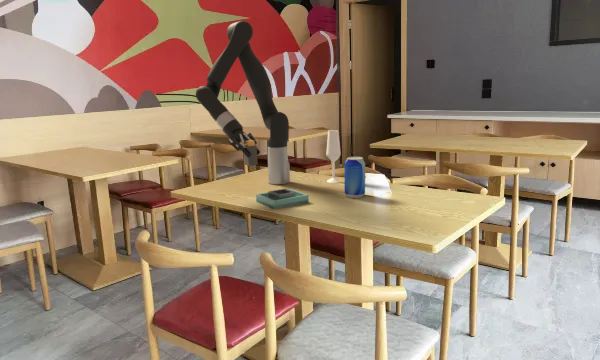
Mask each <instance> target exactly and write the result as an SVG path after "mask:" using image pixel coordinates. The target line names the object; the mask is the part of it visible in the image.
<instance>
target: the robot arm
mask: <svg viewBox="0 0 600 360" xmlns="http://www.w3.org/2000/svg"><path fill="white" fill-rule="evenodd" d="M226 34H227V38H228V44H227V46H226V47H225V48H224V50H223V51H222V53H221V54H220V55H219V56H218V58H217V59H216V60H215V62H214V63H213V65H212V67H211V69H210V71H209V72H208V75H207V77H206V81H207V82H206V83H207V84H206V85H201V86H198V87H197V89H196V91H195V97H196V100H197V101H198V102H199V103H200V104H201V105H202V107H203V108H204V109H205V110H206V111H207V112H208V113H209V116H210V117H212V119H213V120H214V121H215V123H216V124H217V125H218V127H219V128H220V130H221V131H222V132H223V133H224V134H225V136H226V137H227V138H228V140H227V142H228V143H229V145H231V146H232V147H233V148H234V149H235V150H236V151H237V152H239V151H240V152H242V153H243V155H244V154H245V155H246V156H247V157H248V158H249V157H250V156H251V155H252V154H251V152H250V151H249V150H248V149H247V148H245V141H247V140H253V141H254V142H255V145H256V146H257V144H258V142H257V140H256V139H255V137H254V135H252V134H253V133H251V132H249V133H246V132H245V131H244V127H243V125H242V124H241V123H240V121H239V120H238V119H237V118H236V117H235V116H234V115H233V114H232V112H230V111H229V109H228V108H227V107H226V106H225V104H223V103H222V102H221V101H220V100H219V98H218V97H219V95H220V92H221V88H222V85H223V84H224V82H225V80H226V78H227V75H228V74H229V73H230V71H231V69H232V67H233V65H234V64H235V61H236V60H237V59H238V60H239V62H240V65H241V69H242V70H243V72H244V75H245V78H246V81H247V82H248V85H249V87H250V89H251V92H252V94H253V96H254V99H255V101H256V103H257V105H258V107H259V111H260V113H261V119H263V120H262V121H263V124H264V126H265V127H266V129H267V130H269V139H268V140H267V173H268V184H271V185H284V184H288V183H290V182H291V176H290V175H291V173H290V171H291V170H290V169H291V168H290V162H289V160H288V159H289V158H288V157H289V156H288V141H289V137H290V132H289V131H290V130H289V129H290V128H289V127H290V124H289V123H290V121H289V118H288V116H287V115H286V114H285V113H284V112H282V111H279V110H278V109H277V106H276V104H275V102H274V101H273V100H274V99H273V93H272V84H271V81H270V77H269V75H268V73H267V71H266V68H265V66H264V65H263V63H262V62H261V61H260V60H259V58H258V57H257V56H256V55H255V53H254V52H253V49H252V47H251V45H250V41H251V39H252V38H253V36H254V35H253V34H254V30H253V26H252V25H251V23H250V22H248V21H247V20H239V21H236V22H233V23H231V24H230V25H229V26H228V27H227V30H226ZM260 153H261V151H260V150H259V148H258V147H257V156H259V154H260Z"/></svg>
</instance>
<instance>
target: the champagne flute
mask: <svg viewBox="0 0 600 360" xmlns="http://www.w3.org/2000/svg"><path fill="white" fill-rule="evenodd" d="M339 134H340V133H339V130H337V129H336V130H335V129H329V130H327V140H326V152H325V154H326V155H325V156H326V157H327V158H328V159H329V160H330V161H331V163H332V164H331V165H332V167H331V170H332V172H331V173H332V175H331V176H332V177H331V178H329V179H328V180H326V182H327V183H331V184H335V183H336V184H337V183H341V180H340V179H338V178H337V177H336V167H335V166H336V165H335V164H336V161H337V160H338V159H339V158H340V157H341V145H340V143H341V142H340V135H339Z"/></svg>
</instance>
